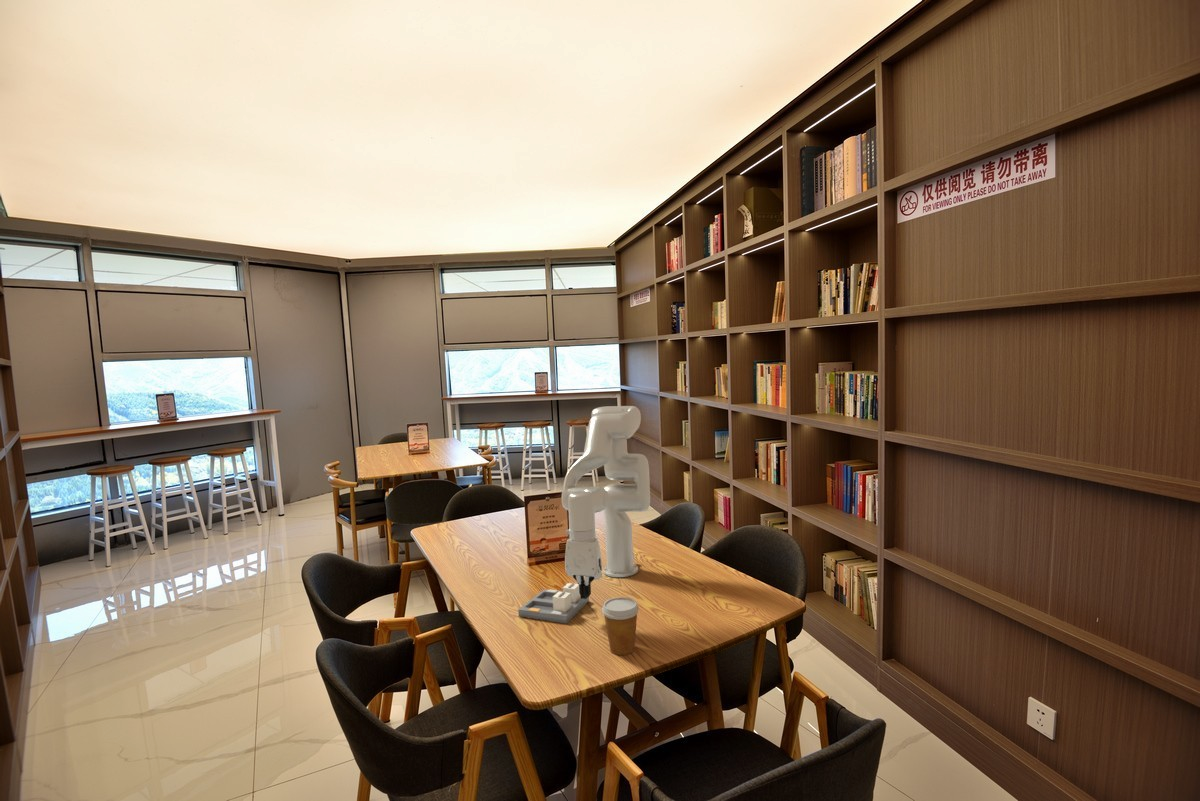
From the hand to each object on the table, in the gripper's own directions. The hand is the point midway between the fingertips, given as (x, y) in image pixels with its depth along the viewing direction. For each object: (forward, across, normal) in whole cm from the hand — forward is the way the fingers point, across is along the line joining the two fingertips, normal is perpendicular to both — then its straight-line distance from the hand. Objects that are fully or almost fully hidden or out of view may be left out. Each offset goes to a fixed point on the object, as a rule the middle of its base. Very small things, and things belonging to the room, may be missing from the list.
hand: (585, 597), depth 160 cm
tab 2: (+5, -8, +8) cm, 13 cm away
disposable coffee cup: (+7, +16, -13) cm, 22 cm away
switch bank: (+7, -13, +4) cm, 15 cm away
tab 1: (+5, -8, +1) cm, 10 cm away
